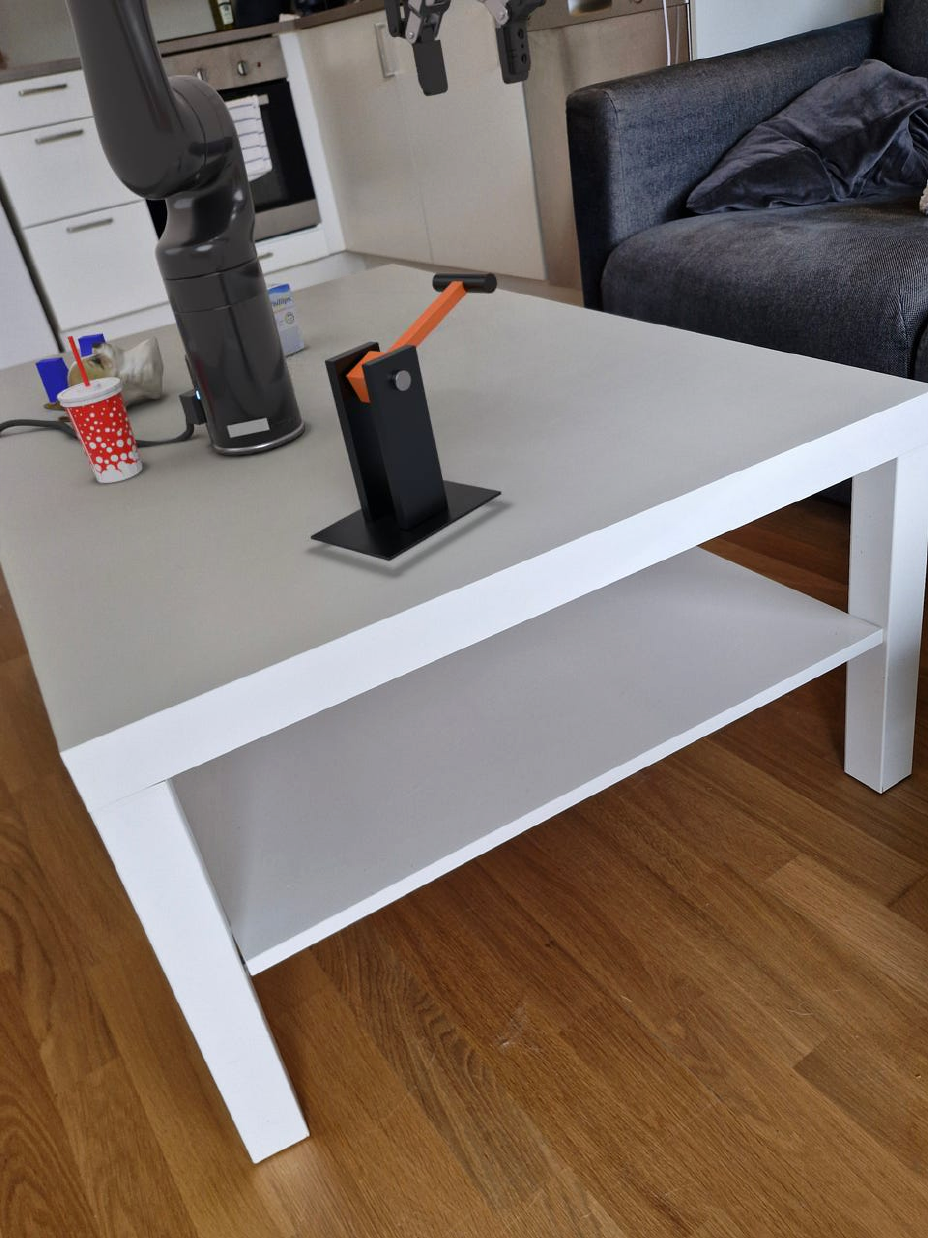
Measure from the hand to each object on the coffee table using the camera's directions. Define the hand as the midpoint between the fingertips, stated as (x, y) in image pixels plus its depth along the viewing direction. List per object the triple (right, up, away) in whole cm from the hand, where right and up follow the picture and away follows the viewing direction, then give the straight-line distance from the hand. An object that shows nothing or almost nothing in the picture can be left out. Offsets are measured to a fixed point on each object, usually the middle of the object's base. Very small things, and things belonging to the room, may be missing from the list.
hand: (475, 88), depth 80 cm
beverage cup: (-36, -26, +25) cm, 51 cm away
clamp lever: (-4, -20, -3) cm, 21 cm away
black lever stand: (-5, -34, 0) cm, 34 cm away
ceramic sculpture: (-43, -16, +47) cm, 65 cm away
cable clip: (-52, -11, +58) cm, 79 cm away
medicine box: (-26, -5, +58) cm, 64 cm away
